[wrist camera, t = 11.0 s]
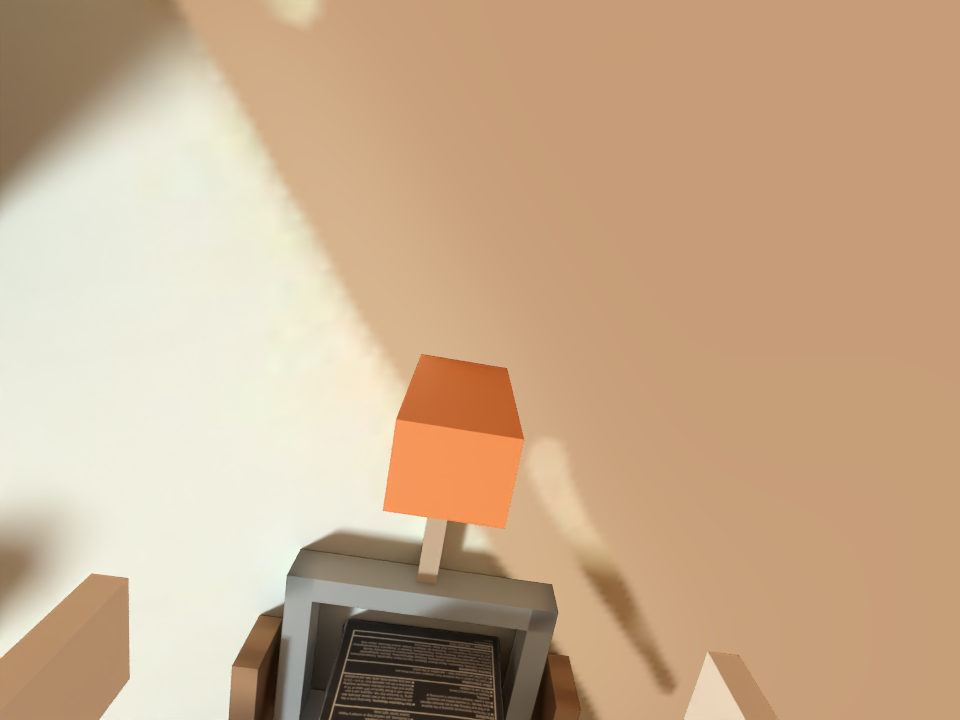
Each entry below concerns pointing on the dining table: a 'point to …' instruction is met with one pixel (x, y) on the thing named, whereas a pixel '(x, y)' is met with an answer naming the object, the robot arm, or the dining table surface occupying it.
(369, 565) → the grey and orange frame
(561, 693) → the shelf lane
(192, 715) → the dining table surface
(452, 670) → the small box
